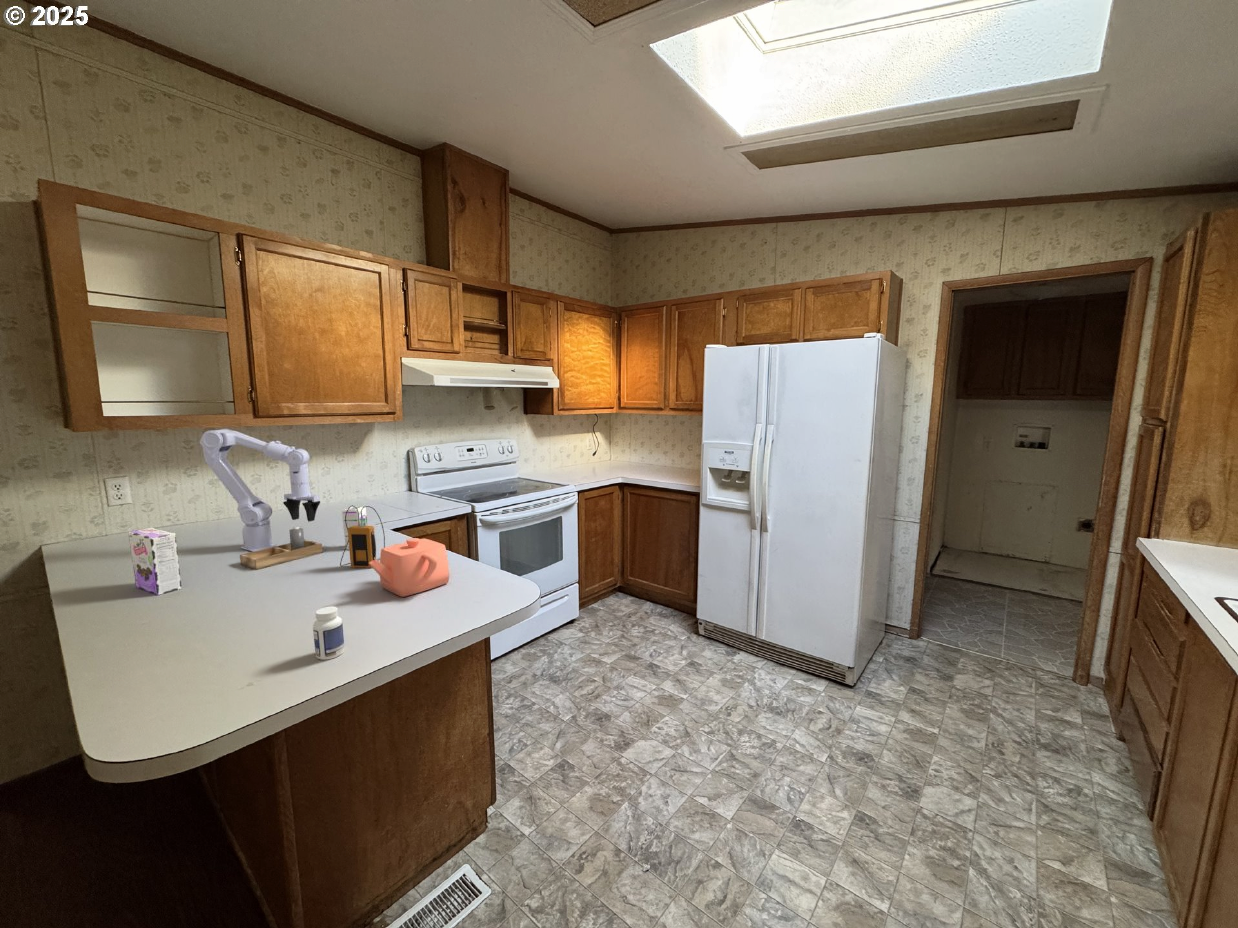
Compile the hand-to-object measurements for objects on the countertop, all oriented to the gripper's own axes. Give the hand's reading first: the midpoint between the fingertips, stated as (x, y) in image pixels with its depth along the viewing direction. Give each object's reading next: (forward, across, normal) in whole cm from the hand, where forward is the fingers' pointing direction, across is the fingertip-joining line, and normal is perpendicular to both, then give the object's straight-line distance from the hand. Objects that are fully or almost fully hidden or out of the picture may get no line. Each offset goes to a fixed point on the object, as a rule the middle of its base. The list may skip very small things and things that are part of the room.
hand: (303, 520), depth 186 cm
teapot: (+10, +66, -22) cm, 70 cm away
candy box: (+10, -2, -44) cm, 46 cm away
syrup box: (+10, +20, +4) cm, 23 cm away
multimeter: (+10, +38, -8) cm, 40 cm away
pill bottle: (+10, +76, -58) cm, 96 cm away
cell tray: (+9, +6, -14) cm, 18 cm away
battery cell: (+9, +7, -9) cm, 14 cm away
